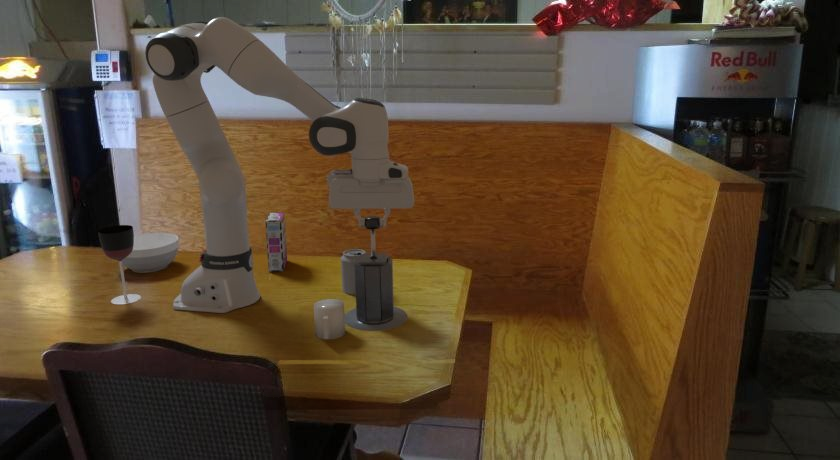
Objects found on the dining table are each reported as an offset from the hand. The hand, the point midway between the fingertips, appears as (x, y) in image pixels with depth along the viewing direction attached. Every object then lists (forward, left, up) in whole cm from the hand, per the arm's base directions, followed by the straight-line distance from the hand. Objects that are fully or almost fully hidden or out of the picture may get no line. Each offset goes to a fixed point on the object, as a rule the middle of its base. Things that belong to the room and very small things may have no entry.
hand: (372, 226), depth 148 cm
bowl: (-75, +42, -25) cm, 89 cm away
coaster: (0, 0, -24) cm, 24 cm away
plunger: (0, 0, -11) cm, 11 cm away
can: (-7, +19, -25) cm, 32 cm away
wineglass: (-70, +15, -25) cm, 76 cm away
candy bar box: (-34, +42, -25) cm, 59 cm away
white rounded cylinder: (-10, -10, -25) cm, 28 cm away
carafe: (0, +1, -24) cm, 24 cm away
